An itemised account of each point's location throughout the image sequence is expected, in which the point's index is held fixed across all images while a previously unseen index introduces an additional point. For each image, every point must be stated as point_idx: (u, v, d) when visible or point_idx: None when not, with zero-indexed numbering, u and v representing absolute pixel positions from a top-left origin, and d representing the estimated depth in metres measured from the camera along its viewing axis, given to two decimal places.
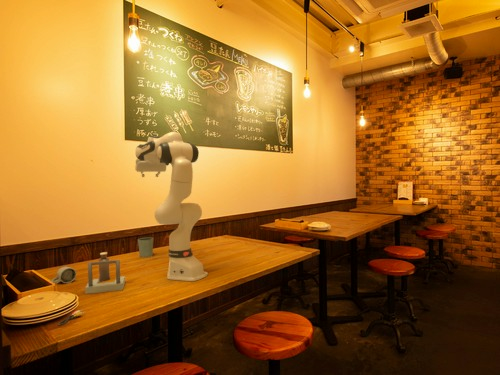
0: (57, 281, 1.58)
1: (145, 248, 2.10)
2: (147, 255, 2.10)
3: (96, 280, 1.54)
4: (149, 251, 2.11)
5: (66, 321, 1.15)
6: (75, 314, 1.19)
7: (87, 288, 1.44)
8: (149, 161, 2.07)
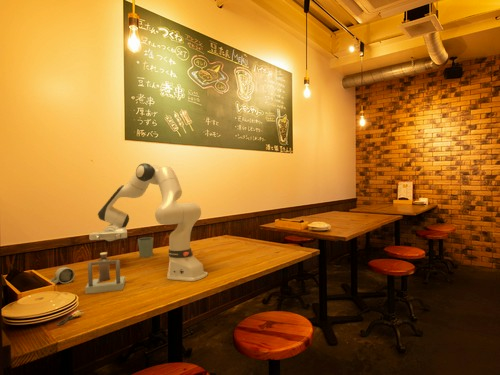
0: (55, 281, 1.57)
1: (145, 248, 2.10)
2: (147, 255, 2.10)
3: (96, 280, 1.54)
4: (149, 251, 2.11)
5: (65, 321, 1.15)
6: (74, 314, 1.19)
7: (87, 288, 1.44)
8: (105, 228, 1.88)
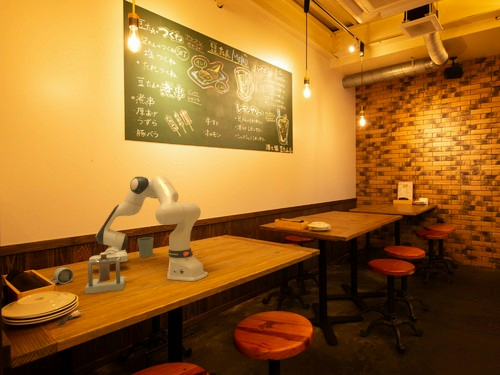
0: (54, 282, 1.57)
1: (145, 248, 2.10)
2: (147, 255, 2.10)
3: (96, 280, 1.54)
4: (149, 251, 2.11)
5: (65, 321, 1.15)
6: (74, 314, 1.19)
7: (87, 288, 1.44)
8: (105, 251, 1.85)
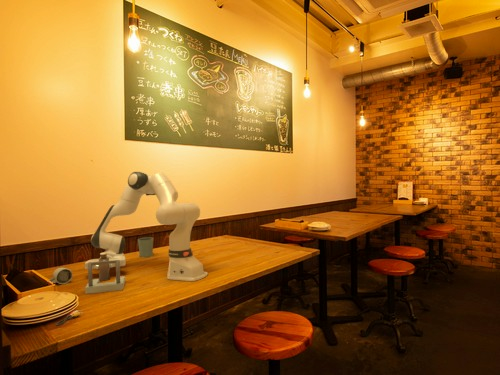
0: (53, 282, 1.56)
1: (145, 248, 2.10)
2: (147, 255, 2.10)
3: (96, 280, 1.54)
4: (149, 251, 2.11)
5: (64, 321, 1.15)
6: (73, 314, 1.19)
7: (87, 288, 1.44)
8: None
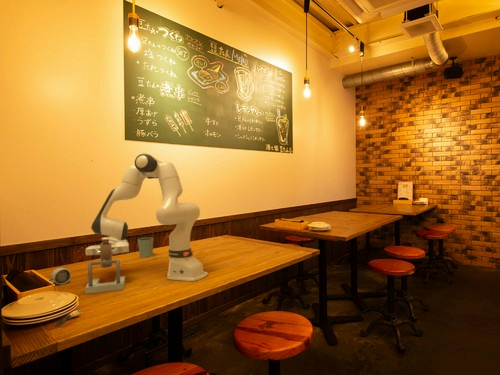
0: None
1: (145, 248, 2.10)
2: (147, 255, 2.10)
3: (96, 280, 1.54)
4: (149, 251, 2.11)
5: (63, 321, 1.15)
6: (73, 314, 1.19)
7: (87, 288, 1.44)
8: None
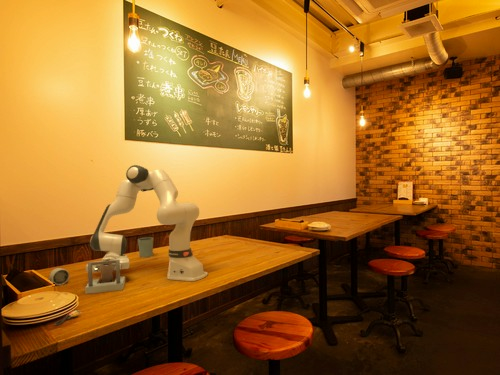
0: None
1: (145, 248, 2.10)
2: (147, 255, 2.10)
3: (96, 280, 1.54)
4: (149, 251, 2.11)
5: (62, 321, 1.15)
6: (72, 314, 1.19)
7: (87, 288, 1.44)
8: (104, 256, 1.65)
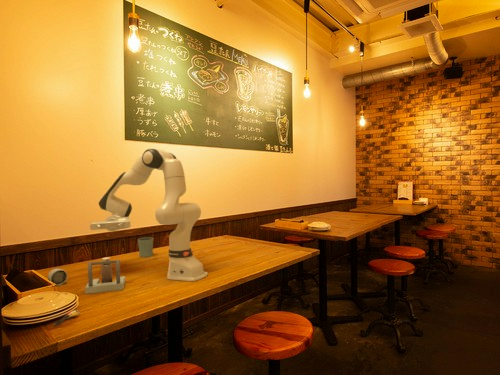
0: None
1: (145, 248, 2.10)
2: (147, 255, 2.10)
3: (96, 280, 1.54)
4: (149, 251, 2.11)
5: (61, 321, 1.15)
6: (71, 314, 1.19)
7: (87, 288, 1.44)
8: (107, 217, 1.77)
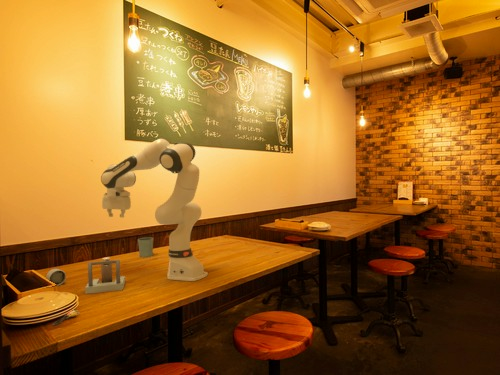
0: None
1: (145, 248, 2.10)
2: (147, 255, 2.10)
3: (96, 280, 1.54)
4: (149, 251, 2.11)
5: (61, 321, 1.15)
6: (70, 314, 1.19)
7: (87, 288, 1.44)
8: (107, 194, 1.77)
